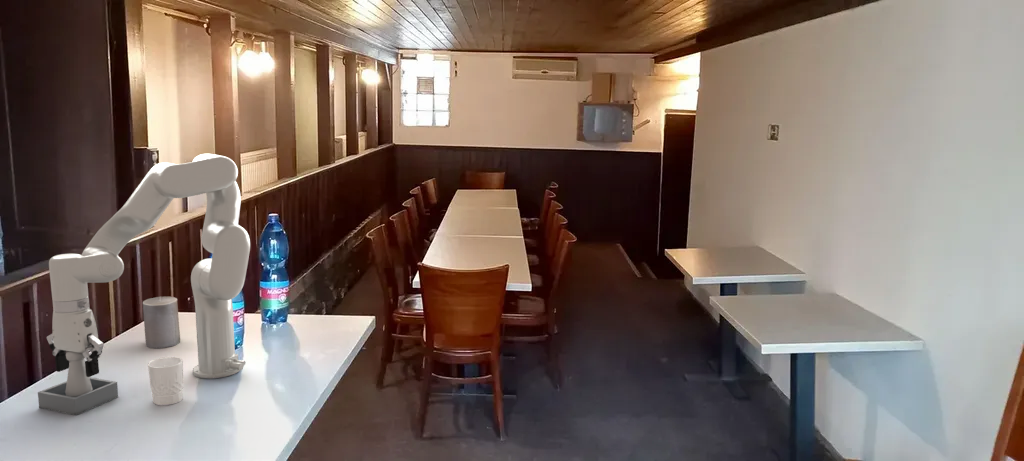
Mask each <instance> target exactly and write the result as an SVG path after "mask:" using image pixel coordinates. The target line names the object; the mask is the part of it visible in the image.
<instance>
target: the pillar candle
mask: <svg viewBox="0 0 1024 461" xmlns="http://www.w3.org/2000/svg"><path fill="white" fill-rule="evenodd" d="M142 310H143V311H142V314H143V323H144V324H143V326H144V327H143V328H144V339H145V346H146V347H147V348H148V349H149V348H150V349H164V348H167V347H174V346H176V345H178V344H179V343H180V342H181V333H180V332H181V331H180V322H179V321H180V320H179V308H178V298H177V297H174V296H156V297H153V298H152V297H150V298H147V299H145V300H143V301H142Z"/></svg>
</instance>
